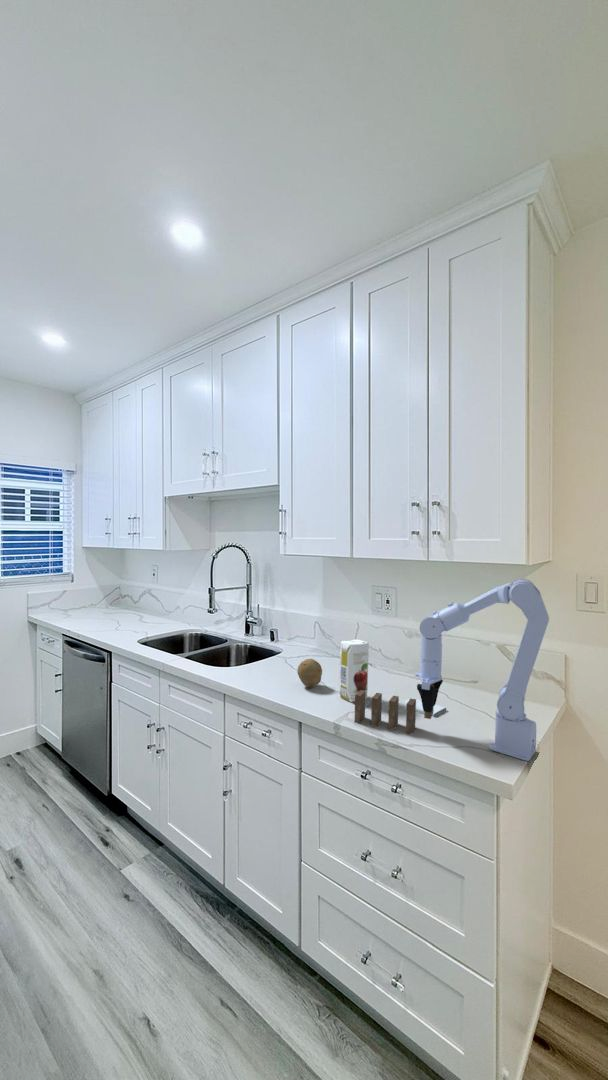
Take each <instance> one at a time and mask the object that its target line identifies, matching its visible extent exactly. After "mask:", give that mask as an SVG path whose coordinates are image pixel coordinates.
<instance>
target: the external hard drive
mask: <svg viewBox="0 0 608 1080" xmlns="http://www.w3.org/2000/svg"><path fill="white" fill-rule="evenodd" d="M410 698H411V699H414V698H413V697H410ZM410 698H408V699H405V700H403V701H401V702H399V705H398V708H403V709H405V710H407V703H408V701H409V700H410ZM415 699H416V698H415ZM446 711H447V707H445V706H441V705H438V704H435V706H434V710H433V715H432V717H431V718H435V717H438V715H440V714H442V713H444V712H446ZM416 713H419V714H422V715H425V711H423V706H422V700H421V699H416Z"/></svg>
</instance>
